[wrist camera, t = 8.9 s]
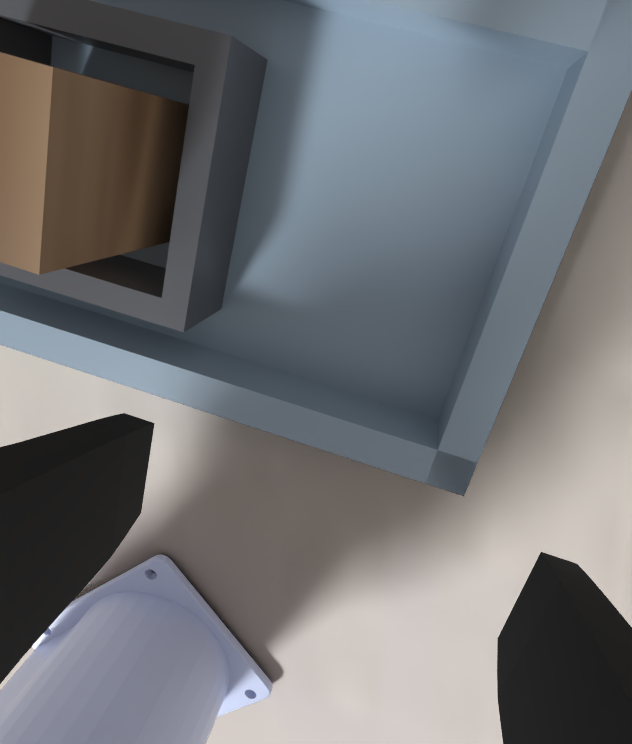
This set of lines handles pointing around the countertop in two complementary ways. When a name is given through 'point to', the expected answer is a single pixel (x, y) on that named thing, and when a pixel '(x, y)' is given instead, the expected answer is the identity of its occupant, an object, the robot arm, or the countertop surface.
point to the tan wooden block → (83, 166)
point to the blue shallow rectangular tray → (336, 209)
